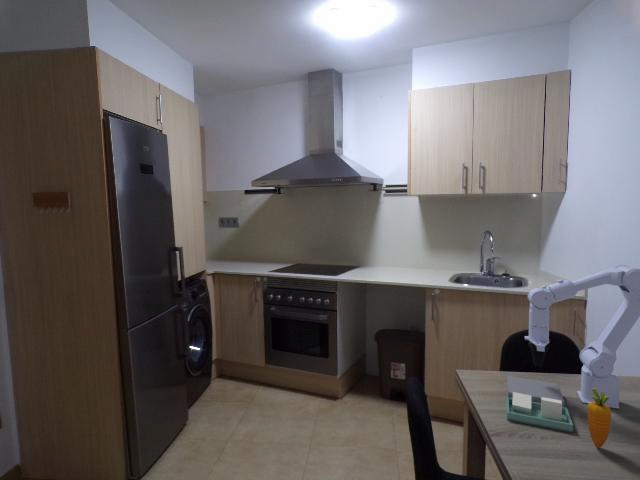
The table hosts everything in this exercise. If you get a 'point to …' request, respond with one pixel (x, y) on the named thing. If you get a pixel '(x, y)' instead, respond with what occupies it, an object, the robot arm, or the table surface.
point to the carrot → (599, 419)
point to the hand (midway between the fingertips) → (537, 365)
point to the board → (533, 389)
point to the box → (539, 417)
